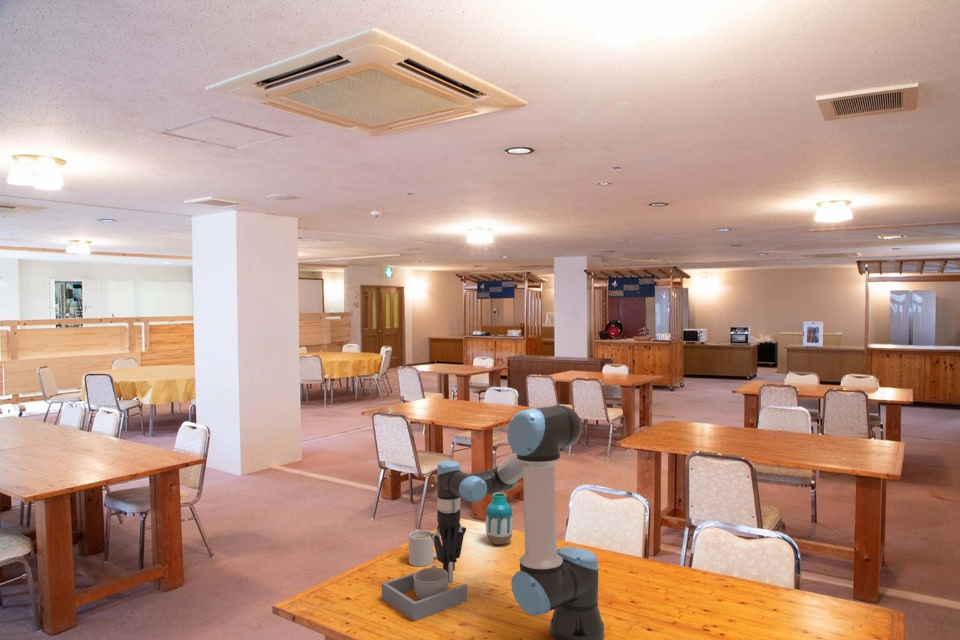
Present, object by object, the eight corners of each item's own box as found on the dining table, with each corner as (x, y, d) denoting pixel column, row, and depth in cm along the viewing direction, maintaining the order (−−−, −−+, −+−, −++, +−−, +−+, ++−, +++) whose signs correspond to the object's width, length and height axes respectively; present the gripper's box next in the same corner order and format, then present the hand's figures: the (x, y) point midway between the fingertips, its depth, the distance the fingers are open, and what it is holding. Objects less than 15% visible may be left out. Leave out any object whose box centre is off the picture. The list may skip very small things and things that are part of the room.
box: (467, 601, 195) (467, 585, 195) (414, 621, 182) (414, 604, 182) (433, 581, 209) (433, 566, 209) (381, 599, 196) (381, 583, 196)
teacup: (441, 608, 190) (441, 582, 190) (408, 604, 192) (408, 578, 192) (454, 588, 203) (454, 564, 203) (423, 585, 206) (423, 561, 206)
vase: (481, 540, 246) (481, 492, 246) (505, 536, 251) (505, 489, 250) (493, 549, 236) (493, 499, 236) (517, 545, 241) (517, 496, 241)
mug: (404, 565, 223) (404, 537, 222) (415, 555, 232) (415, 528, 232) (433, 568, 219) (433, 540, 219) (442, 558, 228) (442, 531, 228)
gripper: (457, 502, 208) (457, 572, 209) (425, 510, 200) (425, 583, 201) (471, 508, 203) (471, 579, 203) (439, 516, 194) (439, 591, 195)
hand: (448, 581), depth 202 cm, fingers closed
